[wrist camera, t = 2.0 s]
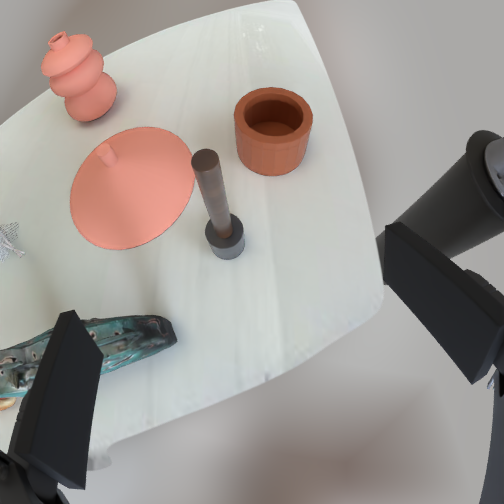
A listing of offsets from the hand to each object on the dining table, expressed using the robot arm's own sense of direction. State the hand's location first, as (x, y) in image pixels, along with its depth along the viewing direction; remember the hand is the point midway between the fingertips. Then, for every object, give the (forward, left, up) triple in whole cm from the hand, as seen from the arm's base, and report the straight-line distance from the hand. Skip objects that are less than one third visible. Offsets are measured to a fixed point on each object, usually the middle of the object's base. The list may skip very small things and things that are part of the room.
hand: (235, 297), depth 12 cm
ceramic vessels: (+31, -14, -27) cm, 43 cm away
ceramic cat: (+14, +12, -27) cm, 33 cm away
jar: (+8, -24, -27) cm, 37 cm away
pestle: (+7, -8, -27) cm, 29 cm away
